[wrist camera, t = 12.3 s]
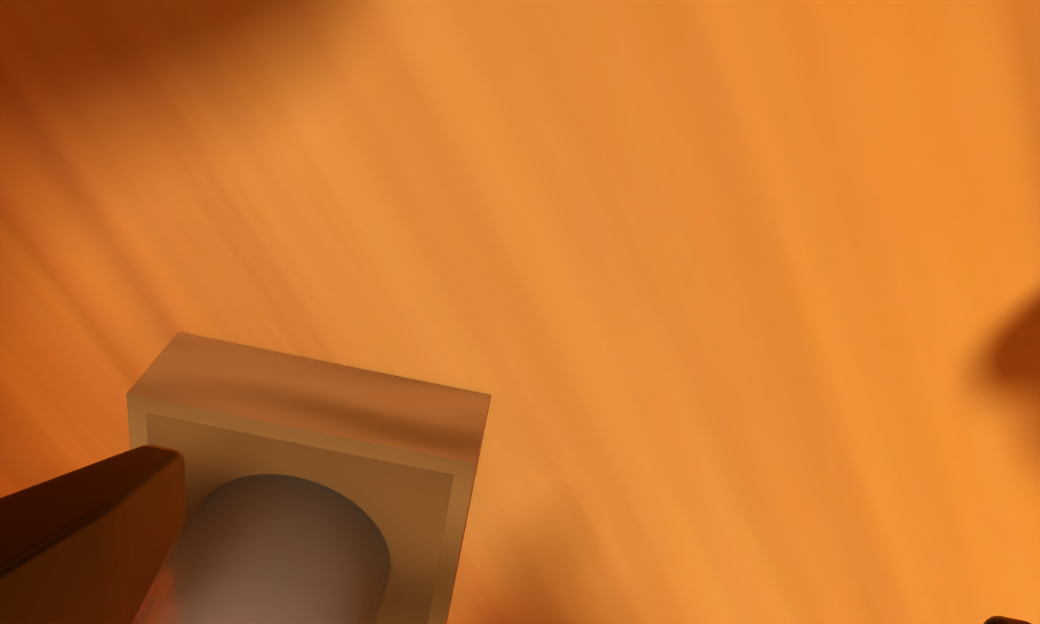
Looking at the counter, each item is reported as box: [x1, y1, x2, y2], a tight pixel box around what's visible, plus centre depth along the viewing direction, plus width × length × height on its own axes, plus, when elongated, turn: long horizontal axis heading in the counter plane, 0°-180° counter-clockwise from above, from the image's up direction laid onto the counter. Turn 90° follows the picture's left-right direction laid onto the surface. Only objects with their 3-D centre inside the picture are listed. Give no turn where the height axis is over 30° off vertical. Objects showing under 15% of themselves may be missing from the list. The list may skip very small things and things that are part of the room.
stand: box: [127, 332, 491, 624], centre depth 26 cm, size 9×9×3 cm
